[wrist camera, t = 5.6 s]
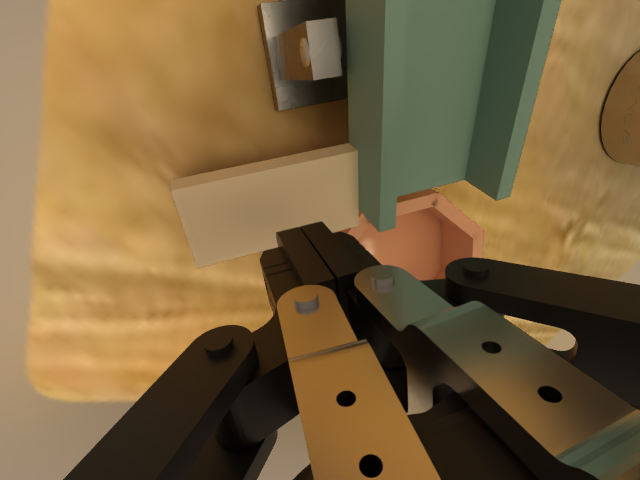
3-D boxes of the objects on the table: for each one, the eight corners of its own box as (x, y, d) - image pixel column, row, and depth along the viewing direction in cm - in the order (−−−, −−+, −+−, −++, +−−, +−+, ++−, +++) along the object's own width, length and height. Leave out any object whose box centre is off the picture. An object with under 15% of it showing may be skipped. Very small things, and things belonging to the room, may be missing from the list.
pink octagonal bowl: (446, 166, 26) (487, 180, 23) (445, 303, 31) (478, 331, 28) (287, 204, 24) (305, 226, 20) (313, 347, 29) (331, 384, 25)
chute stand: (444, -15, 22) (546, -52, 16) (443, 79, 24) (533, 79, 18) (257, 6, 19) (291, -28, 13) (275, 109, 21) (311, 121, 15)
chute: (494, -196, 14) (653, -277, 9) (444, 172, 23) (514, 220, 18) (47, -203, 11) (-35, -335, 6) (192, 233, 19) (203, 310, 15)
